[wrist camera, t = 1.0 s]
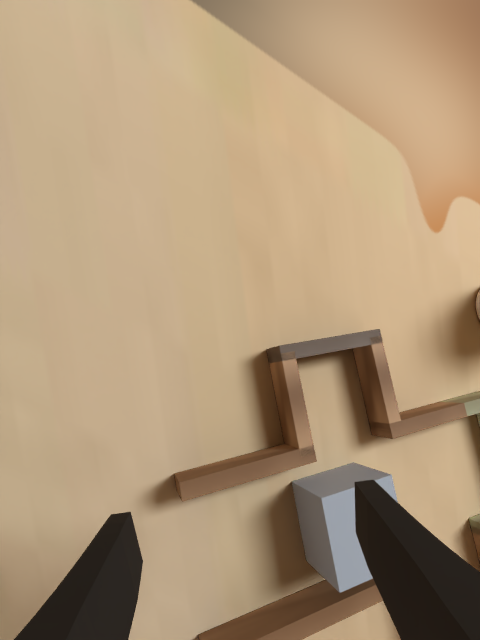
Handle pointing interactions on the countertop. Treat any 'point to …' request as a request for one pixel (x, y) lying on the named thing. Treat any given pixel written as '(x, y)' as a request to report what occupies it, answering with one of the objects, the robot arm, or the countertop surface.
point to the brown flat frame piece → (385, 420)
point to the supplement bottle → (478, 304)
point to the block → (335, 522)
